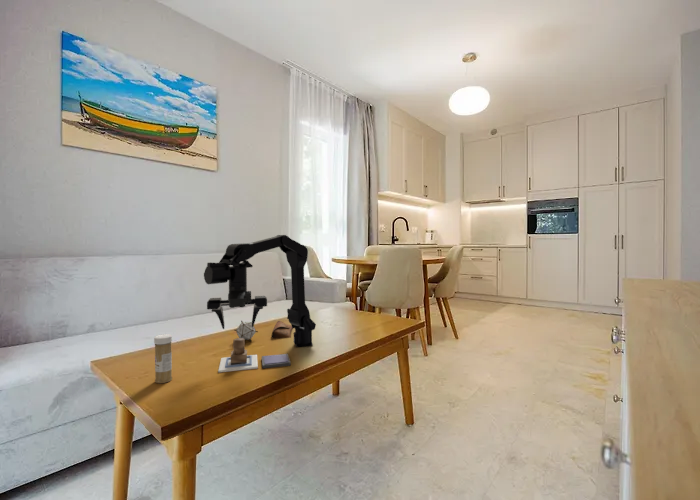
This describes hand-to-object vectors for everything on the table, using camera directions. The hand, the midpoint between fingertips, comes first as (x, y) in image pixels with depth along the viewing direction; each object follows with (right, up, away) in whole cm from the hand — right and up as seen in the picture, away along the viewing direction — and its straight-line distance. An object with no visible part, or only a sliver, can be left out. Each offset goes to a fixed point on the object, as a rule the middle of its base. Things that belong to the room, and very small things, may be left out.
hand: (238, 327), depth 114 cm
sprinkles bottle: (-18, -13, -13) cm, 26 cm away
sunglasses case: (+7, -12, +39) cm, 41 cm away
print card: (0, -12, +1) cm, 12 cm away
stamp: (0, -12, 0) cm, 12 cm away
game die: (-5, -12, +27) cm, 30 cm away
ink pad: (+12, -12, +2) cm, 17 cm away
